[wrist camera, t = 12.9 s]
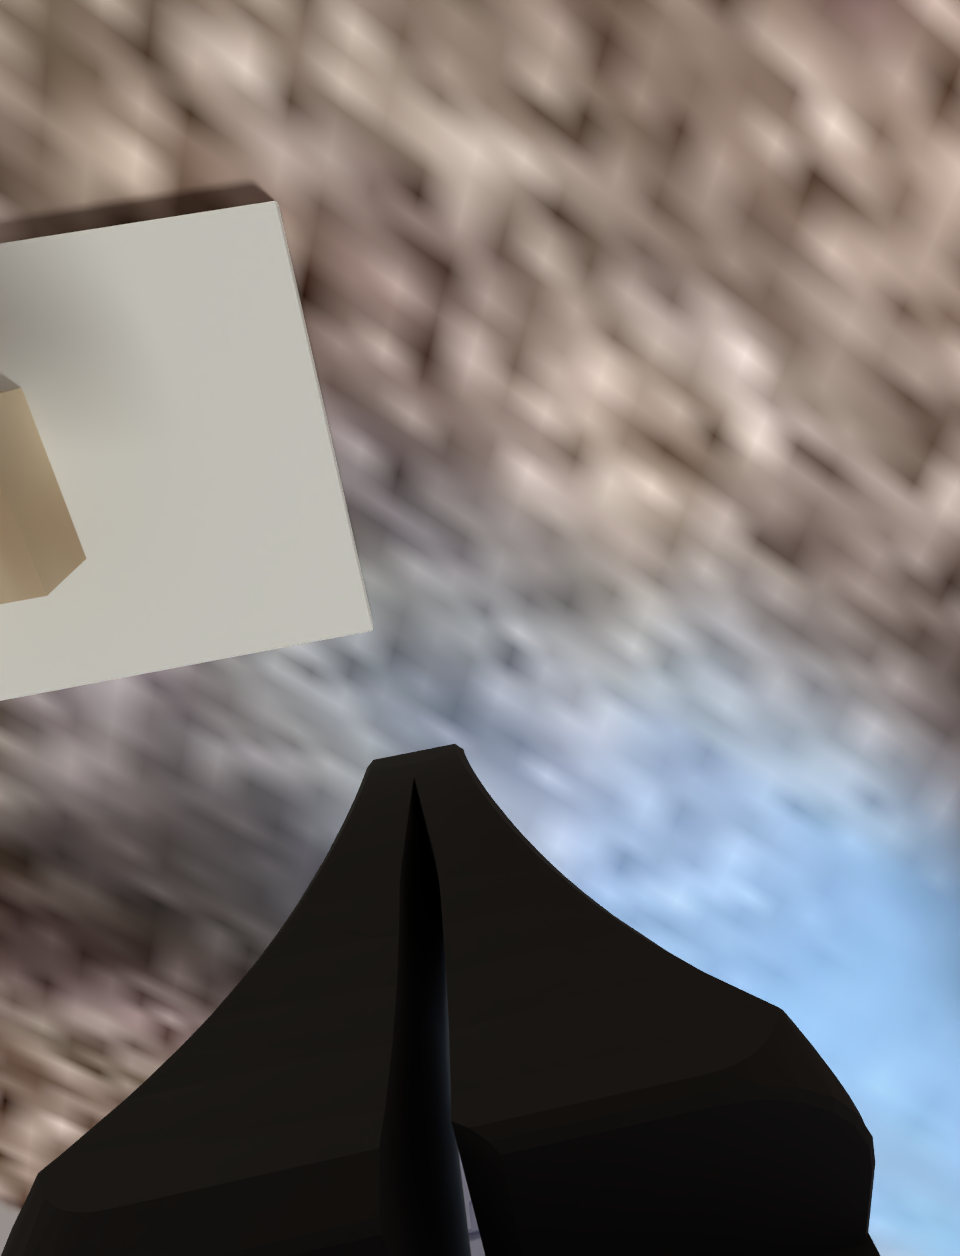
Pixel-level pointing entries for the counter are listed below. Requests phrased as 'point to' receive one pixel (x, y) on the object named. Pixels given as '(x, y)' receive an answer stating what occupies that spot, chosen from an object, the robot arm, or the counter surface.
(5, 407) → the green-faced wooden block
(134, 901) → the counter surface
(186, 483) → the mat
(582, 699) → the counter surface
